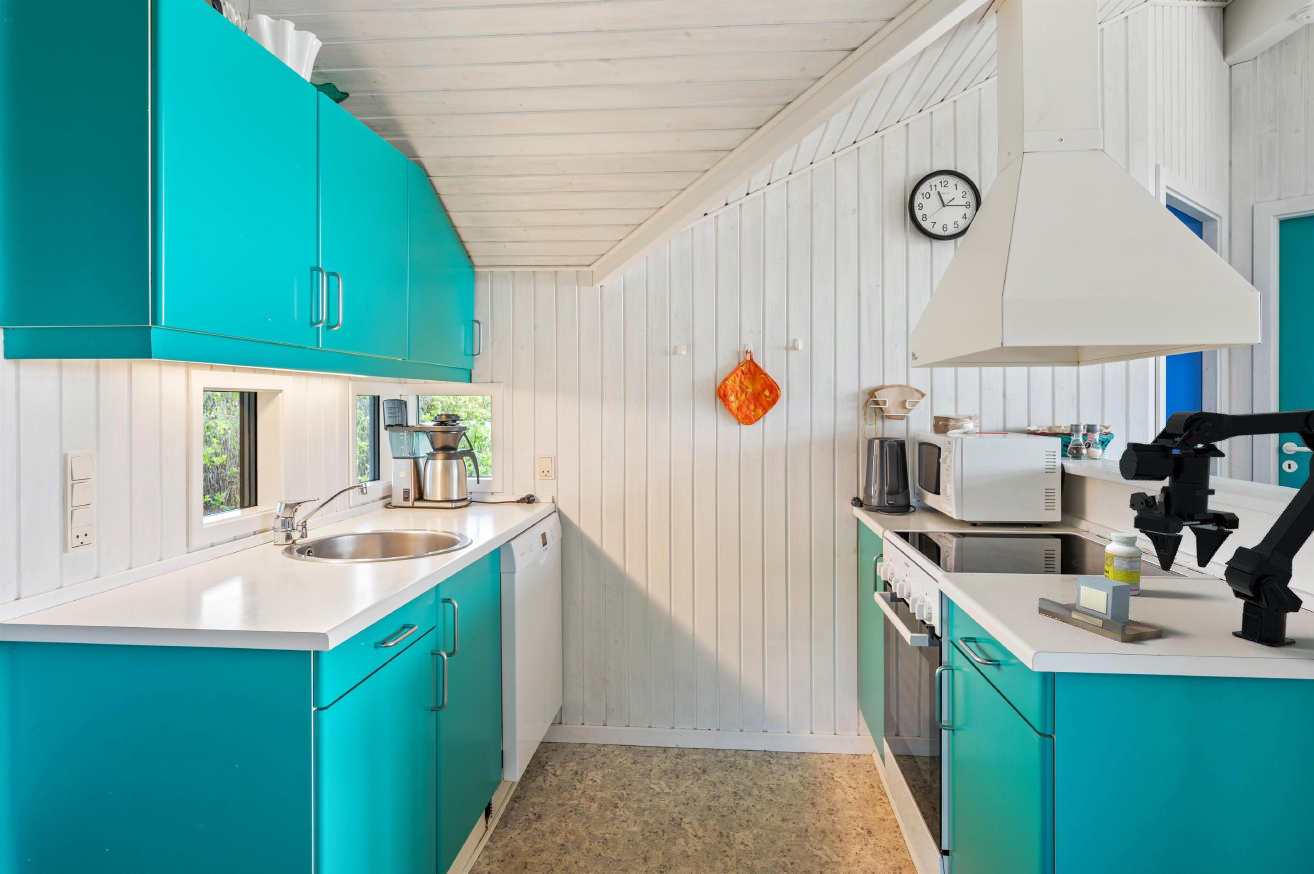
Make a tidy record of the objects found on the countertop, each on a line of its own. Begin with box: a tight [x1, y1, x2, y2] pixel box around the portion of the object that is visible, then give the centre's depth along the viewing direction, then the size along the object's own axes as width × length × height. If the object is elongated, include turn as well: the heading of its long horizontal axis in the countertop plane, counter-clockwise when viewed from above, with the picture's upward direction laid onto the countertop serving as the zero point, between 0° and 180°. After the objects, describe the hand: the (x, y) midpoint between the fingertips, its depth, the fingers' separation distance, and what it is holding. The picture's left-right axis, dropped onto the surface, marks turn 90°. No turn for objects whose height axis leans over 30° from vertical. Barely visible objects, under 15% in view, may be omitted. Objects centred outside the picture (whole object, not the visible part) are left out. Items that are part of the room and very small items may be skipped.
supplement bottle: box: [1103, 531, 1143, 596], centre depth 152 cm, size 7×7×13 cm
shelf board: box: [1037, 597, 1163, 643], centre depth 129 cm, size 10×17×3 cm, turn 19°
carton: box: [1075, 574, 1131, 623], centre depth 130 cm, size 5×7×7 cm
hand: (1183, 568), depth 123 cm, fingers open, 9 cm apart
